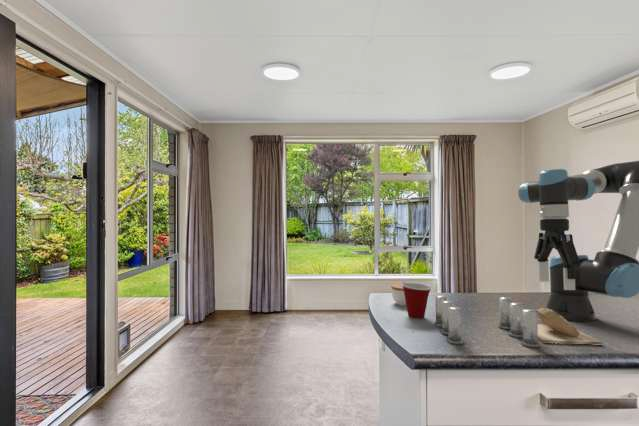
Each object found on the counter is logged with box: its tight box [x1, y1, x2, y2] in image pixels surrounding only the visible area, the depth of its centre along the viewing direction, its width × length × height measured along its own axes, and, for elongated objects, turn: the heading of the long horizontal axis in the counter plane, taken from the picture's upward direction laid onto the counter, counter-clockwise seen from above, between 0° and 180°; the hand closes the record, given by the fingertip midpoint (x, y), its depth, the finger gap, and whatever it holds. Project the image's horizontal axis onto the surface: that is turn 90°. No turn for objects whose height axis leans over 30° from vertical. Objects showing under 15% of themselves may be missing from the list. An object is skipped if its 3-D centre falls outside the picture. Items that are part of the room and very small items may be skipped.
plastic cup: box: [401, 282, 432, 320], centre depth 126 cm, size 11×11×12 cm
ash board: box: [537, 323, 603, 345], centre depth 105 cm, size 16×16×1 cm
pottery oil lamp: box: [536, 305, 579, 337], centre depth 105 cm, size 9×12×7 cm
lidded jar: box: [390, 281, 406, 306], centre depth 146 cm, size 11×11×9 cm
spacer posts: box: [434, 294, 540, 349], centre depth 106 cm, size 25×20×10 cm
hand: (556, 285), depth 106 cm, fingers open, 13 cm apart
